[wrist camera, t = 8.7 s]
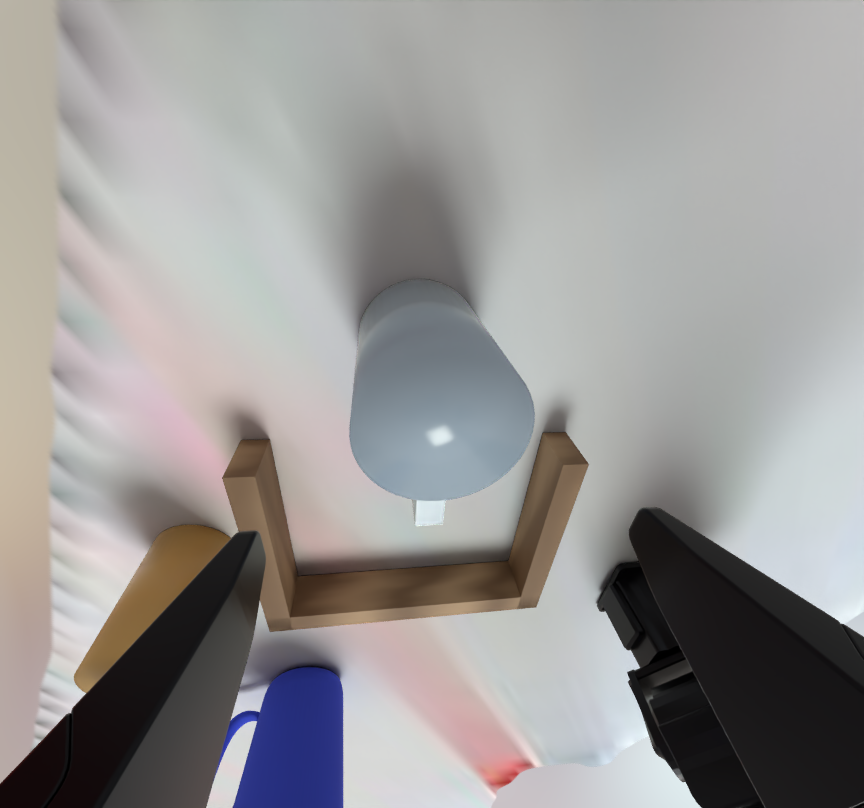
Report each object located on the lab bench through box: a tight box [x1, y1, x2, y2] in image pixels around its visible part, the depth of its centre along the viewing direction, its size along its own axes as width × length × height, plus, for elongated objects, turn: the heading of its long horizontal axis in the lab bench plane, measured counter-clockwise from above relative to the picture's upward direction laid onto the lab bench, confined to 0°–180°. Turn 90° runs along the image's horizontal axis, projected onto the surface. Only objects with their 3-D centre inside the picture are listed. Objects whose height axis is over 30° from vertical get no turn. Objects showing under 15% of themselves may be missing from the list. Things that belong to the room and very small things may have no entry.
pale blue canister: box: [349, 279, 535, 526], centre depth 16 cm, size 6×9×8 cm
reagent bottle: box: [74, 525, 231, 693], centre depth 21 cm, size 5×5×9 cm
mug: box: [214, 667, 343, 808], centre depth 31 cm, size 8×12×10 cm
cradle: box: [222, 432, 589, 632], centre depth 24 cm, size 19×14×3 cm
